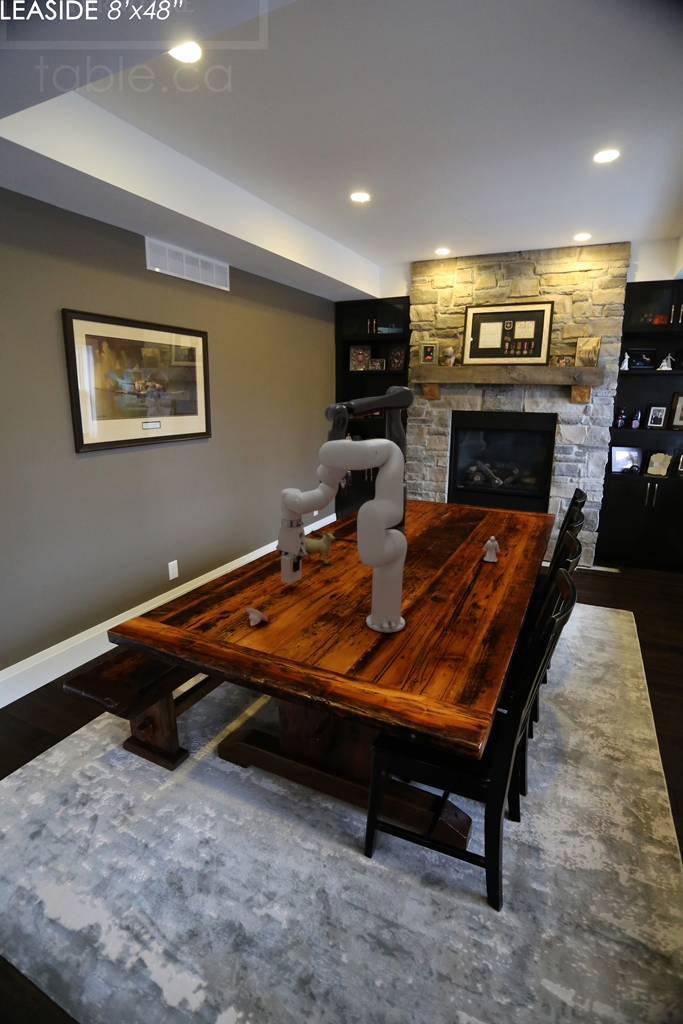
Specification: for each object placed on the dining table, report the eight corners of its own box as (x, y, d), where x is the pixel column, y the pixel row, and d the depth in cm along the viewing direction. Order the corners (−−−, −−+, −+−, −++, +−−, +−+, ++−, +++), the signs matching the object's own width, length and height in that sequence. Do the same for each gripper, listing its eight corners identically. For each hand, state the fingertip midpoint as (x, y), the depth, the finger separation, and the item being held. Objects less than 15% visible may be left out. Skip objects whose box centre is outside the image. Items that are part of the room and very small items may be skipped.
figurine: (481, 562, 222) (483, 536, 219) (482, 556, 230) (484, 531, 227) (499, 564, 220) (501, 538, 217) (499, 558, 228) (501, 533, 225)
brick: (301, 578, 190) (301, 554, 188) (289, 584, 184) (289, 559, 182) (292, 576, 192) (293, 551, 190) (281, 581, 187) (280, 556, 184)
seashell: (251, 634, 162) (235, 615, 161) (262, 623, 165) (246, 604, 164) (262, 630, 156) (245, 610, 155) (273, 618, 159) (257, 599, 158)
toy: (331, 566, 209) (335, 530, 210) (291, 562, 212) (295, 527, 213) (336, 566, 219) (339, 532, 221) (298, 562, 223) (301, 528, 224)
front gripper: (315, 524, 181) (315, 571, 186) (280, 516, 190) (280, 561, 195) (302, 528, 175) (302, 577, 180) (267, 520, 184) (267, 567, 189)
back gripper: (355, 456, 200) (354, 495, 204) (326, 453, 207) (326, 491, 211) (345, 458, 194) (344, 499, 197) (316, 454, 201) (315, 494, 205)
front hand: (291, 568), depth 187 cm, fingers closed on brick, 4 cm apart
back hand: (335, 495), depth 204 cm, fingers open, 8 cm apart
